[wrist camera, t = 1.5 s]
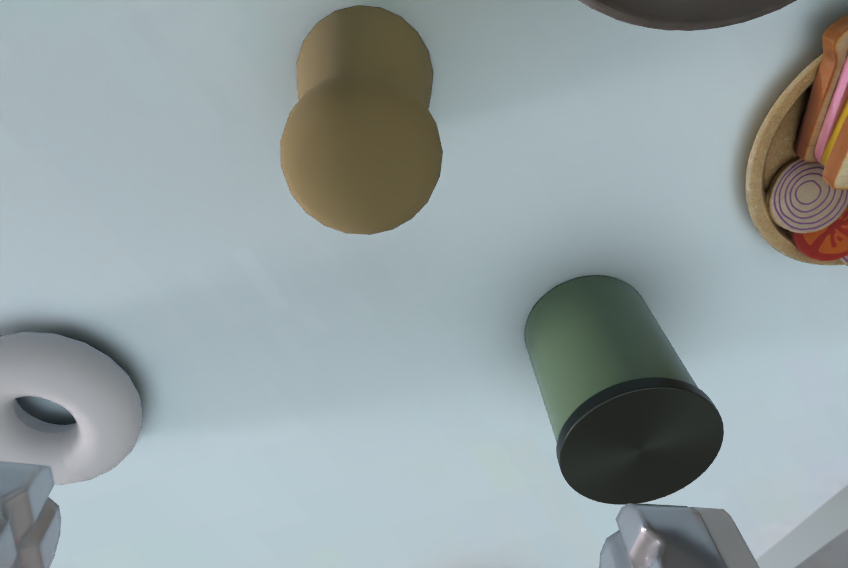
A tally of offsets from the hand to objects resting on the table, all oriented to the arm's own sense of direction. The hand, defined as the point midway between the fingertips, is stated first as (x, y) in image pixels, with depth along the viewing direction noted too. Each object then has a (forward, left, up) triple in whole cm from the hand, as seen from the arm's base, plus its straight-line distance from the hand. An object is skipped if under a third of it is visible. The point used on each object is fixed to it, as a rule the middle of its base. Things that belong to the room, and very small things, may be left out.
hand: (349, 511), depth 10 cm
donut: (-15, -20, -24) cm, 34 cm away
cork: (0, 0, -24) cm, 24 cm away
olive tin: (+14, -12, -23) cm, 30 cm away
